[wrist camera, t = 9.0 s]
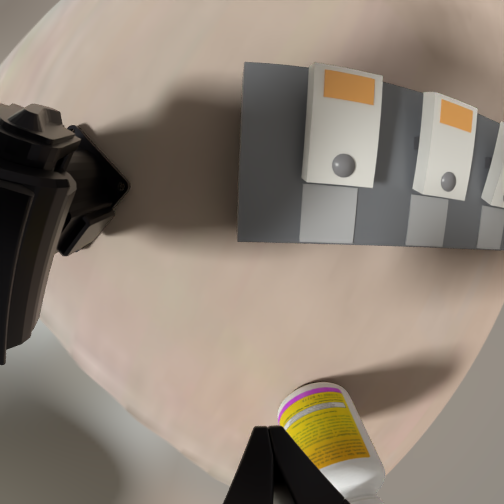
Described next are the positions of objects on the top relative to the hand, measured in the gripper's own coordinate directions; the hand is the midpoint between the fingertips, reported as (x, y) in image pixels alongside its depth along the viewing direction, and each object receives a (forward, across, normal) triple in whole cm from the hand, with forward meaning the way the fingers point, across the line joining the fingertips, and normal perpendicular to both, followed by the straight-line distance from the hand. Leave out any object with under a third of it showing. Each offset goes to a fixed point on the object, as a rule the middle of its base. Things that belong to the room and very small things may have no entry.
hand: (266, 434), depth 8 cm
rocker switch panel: (+13, -11, -8) cm, 19 cm away
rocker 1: (+8, -4, -10) cm, 14 cm away
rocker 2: (+8, -18, -10) cm, 23 cm away
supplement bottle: (+13, -6, +12) cm, 19 cm away
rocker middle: (+8, -11, -10) cm, 17 cm away
